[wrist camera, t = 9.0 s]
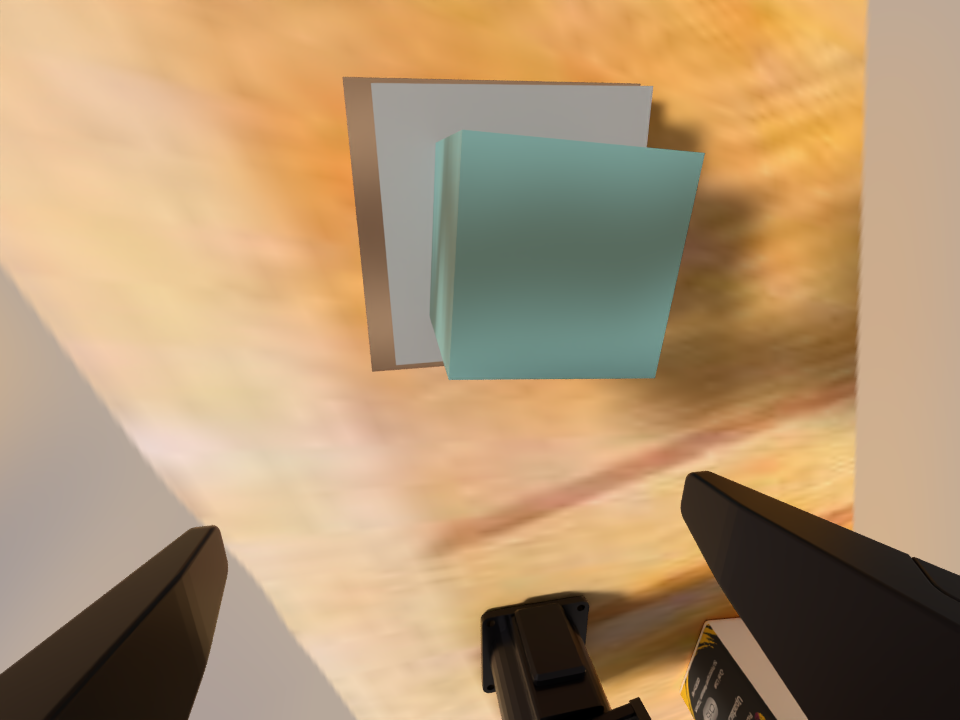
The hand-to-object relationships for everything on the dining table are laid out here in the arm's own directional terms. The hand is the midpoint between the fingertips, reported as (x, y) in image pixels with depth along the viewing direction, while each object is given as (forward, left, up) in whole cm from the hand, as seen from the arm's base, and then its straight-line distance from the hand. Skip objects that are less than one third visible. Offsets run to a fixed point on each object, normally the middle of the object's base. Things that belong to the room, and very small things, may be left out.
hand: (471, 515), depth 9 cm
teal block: (+4, -3, -7) cm, 9 cm away
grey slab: (+4, -3, -10) cm, 11 cm away
